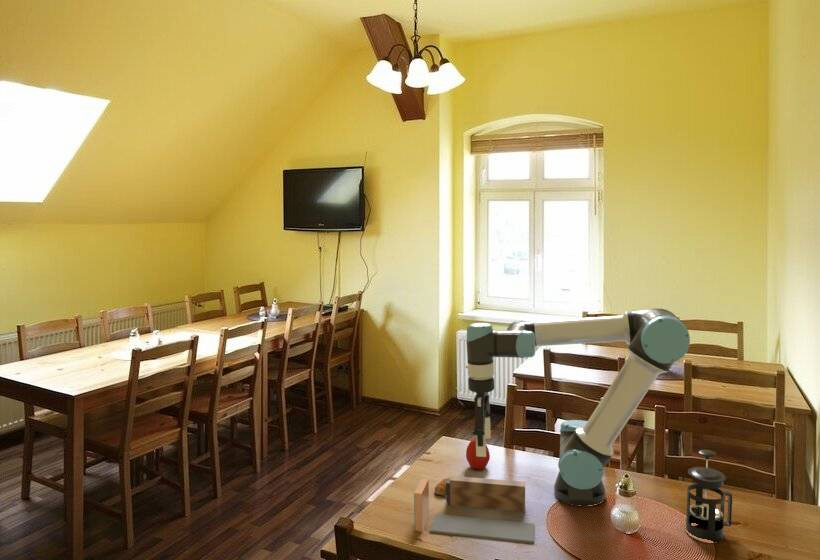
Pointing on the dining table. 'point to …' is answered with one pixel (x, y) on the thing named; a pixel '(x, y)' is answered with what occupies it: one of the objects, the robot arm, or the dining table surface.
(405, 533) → the dining table surface
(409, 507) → the dining table surface
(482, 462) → the red vase
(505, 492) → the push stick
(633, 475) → the dining table surface
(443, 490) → the pastry
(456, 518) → the mat
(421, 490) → the tile
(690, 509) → the french press
